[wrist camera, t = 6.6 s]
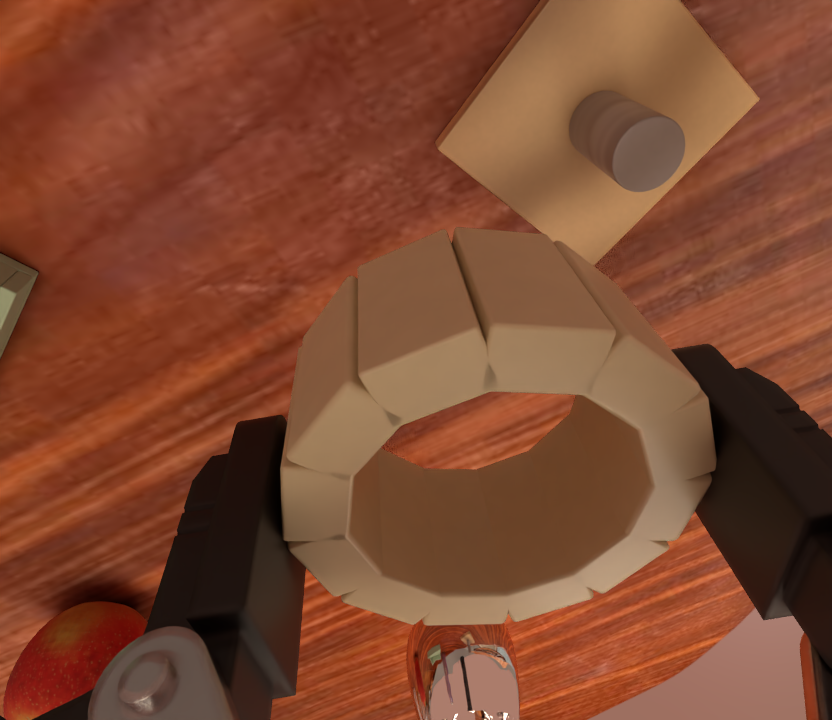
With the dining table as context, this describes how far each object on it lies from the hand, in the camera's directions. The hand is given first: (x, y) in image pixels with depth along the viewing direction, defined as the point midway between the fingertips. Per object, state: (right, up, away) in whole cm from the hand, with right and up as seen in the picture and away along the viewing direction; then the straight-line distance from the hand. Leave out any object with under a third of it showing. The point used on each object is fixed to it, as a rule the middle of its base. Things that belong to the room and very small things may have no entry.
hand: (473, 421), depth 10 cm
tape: (0, +1, +1) cm, 1 cm away
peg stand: (+6, +11, +12) cm, 18 cm away
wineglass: (+1, -10, +27) cm, 28 cm away
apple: (-22, -16, +29) cm, 39 cm away
